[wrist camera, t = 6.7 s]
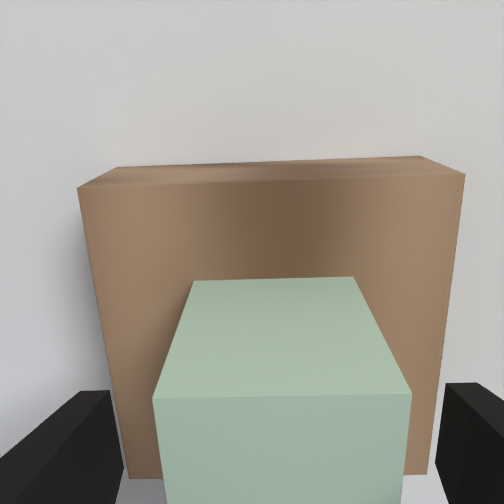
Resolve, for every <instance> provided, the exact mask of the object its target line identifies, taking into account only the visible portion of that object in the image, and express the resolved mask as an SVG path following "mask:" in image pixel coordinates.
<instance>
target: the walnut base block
mask: <svg viewBox="0 0 504 504" xmlns="http://www.w3.org/2000/svg"><path fill="white" fill-rule="evenodd" d="M464 182H465V174H464V173H462V172H459V171H457V170H454V169H452V168H449V167H447V166H444V165H442V164H439V163H437V162H434V161H431V160H429V159H426V158H424V157H421V156H408V157H381V158H354V159H327V160H300V161H273V162H246V163H219V164H192V165H165V166H138V167H116V168H114V169H112V170H110V171H108V172H107V173H105V174H103V175H101V176H99V177H97V178H95V179H93V180H91V181H89V182H87V183H85V184H83V185H81V186H80V187H78V188H77V192H78V197H79V203H80V208H81V214H82V219H83V225H84V231H85V236H86V242H87V247H88V253H89V258H90V264H91V270H92V275H93V281H94V286H95V292H96V297H97V303H98V309H99V314H100V320H101V325H102V331H103V336H104V342H105V347H106V353H107V359H108V364H109V370H110V375H111V381H112V386H113V392H114V398H115V403H116V409H117V414H118V420H119V425H120V431H121V437H122V442H123V448H124V453H125V459H126V464H127V470H128V475H129V479H158V478H163V472H162V465H161V458H160V451H159V444H158V437H157V430H156V423H155V416H154V408H153V401H152V397H153V395H154V392H155V389H156V386H157V383H158V380H159V378H160V375H161V372H162V369H163V366H164V364H165V361H166V358H167V355H168V352H169V349H170V347H171V344H172V341H173V338H174V335H175V333H176V330H177V327H178V324H179V321H180V318H181V316H182V313H183V310H184V307H185V304H186V301H187V299H188V296H189V293H190V290H191V287H192V285H193V282H194V281H206V280H243V279H281V278H318V277H354V279H355V281H356V283H357V285H358V287H359V289H360V291H361V293H362V295H363V297H364V299H365V301H366V303H367V305H368V307H369V309H370V311H371V313H372V315H373V317H374V319H375V321H376V323H377V325H378V327H379V329H380V331H381V333H382V335H383V337H384V339H385V341H386V343H387V345H388V347H389V349H390V351H391V353H392V355H393V356H394V358H395V360H396V362H397V364H398V366H399V368H400V370H401V372H402V374H403V376H404V378H405V380H406V382H407V384H408V386H409V388H410V390H411V392H412V400H411V410H410V419H409V428H408V438H407V447H406V456H405V465H404V475H427V469H428V461H429V453H430V445H431V438H432V430H433V422H434V414H435V407H436V399H437V391H438V383H439V376H440V368H441V360H442V352H443V345H444V337H445V329H446V321H447V314H448V306H449V298H450V290H451V283H452V275H453V267H454V259H455V252H456V244H457V236H458V228H459V221H460V213H461V205H462V197H463V190H464Z"/></svg>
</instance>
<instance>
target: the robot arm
mask: <svg viewBox="0 0 504 504" xmlns="http://www.w3.org/2000/svg"><path fill="white" fill-rule="evenodd" d="M435 464H436V467H437V470H438V473H439V476H440V479H441V482H442V485H443V488H444V492H445V494H446V497H447V500H448V503H449V504H504V401H503V400H502V399H501V398H499V397H498V396H496V395H495V394H493V393H492V392H490V391H489V390H488V389H486V388H485V387H483V386H481V385H480V384H478V383H446V385H445V393H444V400H443V408H442V415H441V422H440V430H439V437H438V444H437V452H436V459H435ZM123 469H124V466H123V461H122V455H121V450H120V444H119V439H118V433H117V428H116V422H115V417H114V411H113V406H112V400H111V395H110V390H102V391H80V392H78V393H77V394H76V395H75V396H73V397H72V398H71V399H70V400H68V401H67V402H66V403H65V404H64V405H62V406H61V407H60V408H59V409H58V410H57V411H55V412H54V413H53V414H52V415H51V416H49V417H48V418H47V419H46V420H45V421H44V422H43V423H41V424H40V425H39V426H38V427H37V428H36V429H34V430H33V431H32V432H31V433H30V434H29V435H27V436H26V437H25V438H24V439H23V440H21V441H20V442H19V443H18V444H17V445H15V446H14V447H13V448H12V449H11V450H9V451H8V452H7V453H6V454H5V455H4V456H2V457H1V458H0V504H115V502H116V498H117V494H118V490H119V486H120V481H121V477H122V473H123Z"/></svg>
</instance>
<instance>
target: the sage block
mask: <svg viewBox="0 0 504 504" xmlns="http://www.w3.org/2000/svg"><path fill="white" fill-rule="evenodd" d="M411 400H412V392H411V390H410V388H409V386H408V384H407V382H406V380H405V378H404V376H403V374H402V372H401V370H400V368H399V366H398V364H397V362H396V360H395V358H394V356H393V355H392V353H391V351H390V349H389V347H388V345H387V343H386V341H385V339H384V337H383V335H382V333H381V331H380V329H379V327H378V325H377V323H376V321H375V319H374V317H373V315H372V313H371V311H370V309H369V307H368V305H367V303H366V301H365V299H364V297H363V295H362V293H361V291H360V289H359V287H358V285H357V283H356V281H355V279H354V277H318V278H281V279H243V280H206V281H194V282H193V285H192V287H191V290H190V293H189V296H188V299H187V301H186V304H185V307H184V310H183V313H182V316H181V318H180V321H179V324H178V327H177V330H176V333H175V335H174V338H173V341H172V344H171V347H170V349H169V352H168V355H167V358H166V361H165V364H164V366H163V369H162V372H161V375H160V378H159V380H158V383H157V386H156V389H155V392H154V395H153V397H152V401H153V408H154V416H155V423H156V430H157V437H158V444H159V451H160V458H161V465H162V472H163V479H164V486H165V494H166V501H167V504H400V502H401V493H402V484H403V475H404V465H405V456H406V447H407V438H408V428H409V419H410V410H411Z"/></svg>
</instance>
